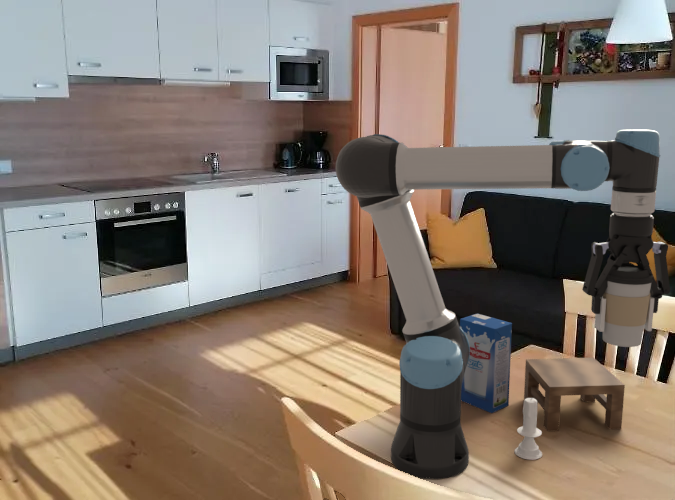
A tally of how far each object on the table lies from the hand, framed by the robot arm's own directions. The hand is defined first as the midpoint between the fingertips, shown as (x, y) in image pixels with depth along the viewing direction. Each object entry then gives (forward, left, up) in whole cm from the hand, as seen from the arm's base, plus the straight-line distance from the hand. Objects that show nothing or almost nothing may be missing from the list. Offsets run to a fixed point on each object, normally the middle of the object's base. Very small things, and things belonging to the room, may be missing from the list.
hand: (622, 329), depth 130 cm
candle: (-18, -1, -25) cm, 31 cm away
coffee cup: (0, 0, -3) cm, 3 cm away
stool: (-3, +16, -25) cm, 30 cm away
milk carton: (-21, +23, -25) cm, 40 cm away
